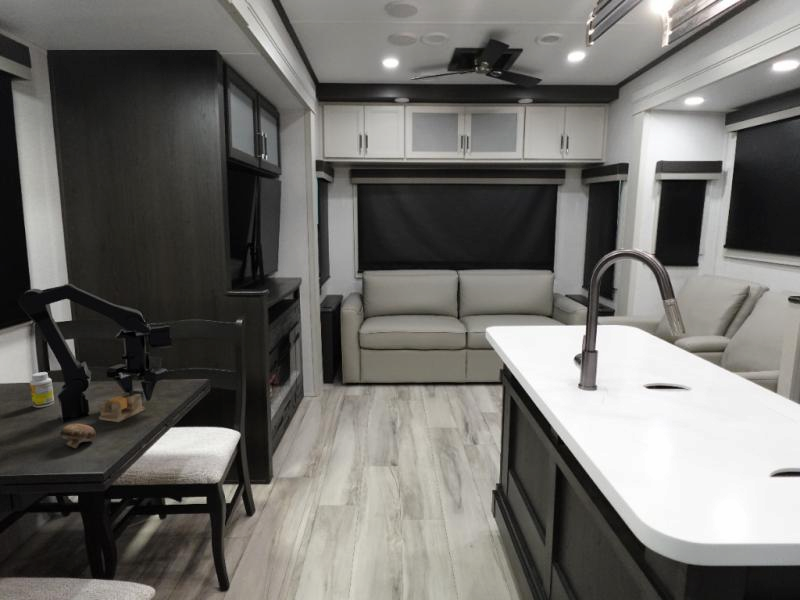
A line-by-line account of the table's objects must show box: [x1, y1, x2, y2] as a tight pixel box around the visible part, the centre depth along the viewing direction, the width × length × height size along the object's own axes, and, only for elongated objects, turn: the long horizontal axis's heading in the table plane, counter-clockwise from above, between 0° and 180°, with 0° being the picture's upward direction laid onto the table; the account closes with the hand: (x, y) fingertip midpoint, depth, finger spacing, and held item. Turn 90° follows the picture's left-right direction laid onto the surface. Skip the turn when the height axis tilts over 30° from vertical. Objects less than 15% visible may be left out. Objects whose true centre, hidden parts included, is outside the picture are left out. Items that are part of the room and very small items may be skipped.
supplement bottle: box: [29, 371, 55, 409], centre depth 158 cm, size 6×6×10 cm
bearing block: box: [98, 392, 146, 423], centre depth 150 cm, size 10×7×5 cm
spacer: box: [108, 396, 127, 410], centre depth 149 cm, size 2×4×3 cm, turn 73°
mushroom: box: [59, 423, 97, 449], centre depth 129 cm, size 8×8×6 cm
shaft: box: [109, 387, 149, 411], centre depth 152 cm, size 12×4×4 cm, turn 163°
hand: (139, 399), depth 156 cm, fingers open, 7 cm apart
